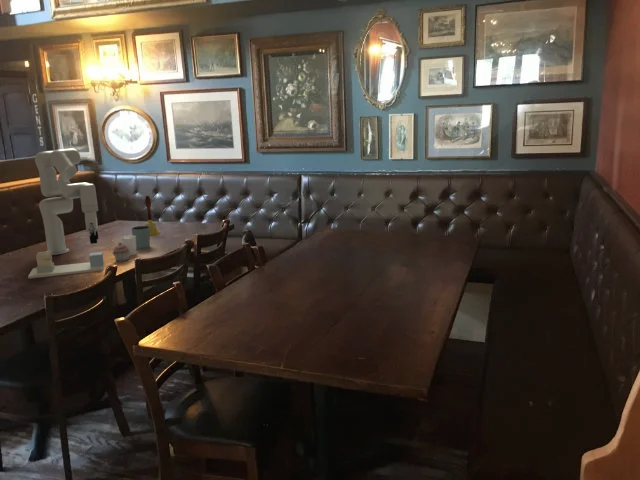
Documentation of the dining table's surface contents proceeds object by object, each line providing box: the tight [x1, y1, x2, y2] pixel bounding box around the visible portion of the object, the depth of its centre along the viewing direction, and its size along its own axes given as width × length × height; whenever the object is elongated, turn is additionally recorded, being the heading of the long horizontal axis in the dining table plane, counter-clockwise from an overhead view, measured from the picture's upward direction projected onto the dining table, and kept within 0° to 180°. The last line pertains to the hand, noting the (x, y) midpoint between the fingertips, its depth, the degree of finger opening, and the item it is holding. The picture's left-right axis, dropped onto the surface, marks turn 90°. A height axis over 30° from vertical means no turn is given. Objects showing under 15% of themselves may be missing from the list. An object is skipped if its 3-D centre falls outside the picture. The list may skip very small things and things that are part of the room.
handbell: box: [144, 195, 162, 237], centre depth 350 cm, size 12×12×25 cm
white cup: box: [120, 234, 137, 257], centre depth 301 cm, size 8×8×10 cm
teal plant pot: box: [131, 225, 151, 250], centre depth 316 cm, size 10×10×12 cm
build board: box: [27, 261, 105, 279], centre depth 273 cm, size 15×34×4 cm, turn 109°
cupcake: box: [111, 242, 130, 263], centre depth 289 cm, size 9×9×10 cm
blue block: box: [88, 251, 105, 267], centre depth 277 cm, size 6×6×6 cm
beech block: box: [35, 251, 53, 267], centre depth 269 cm, size 6×6×6 cm
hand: (94, 241), depth 274 cm, fingers open, 9 cm apart
